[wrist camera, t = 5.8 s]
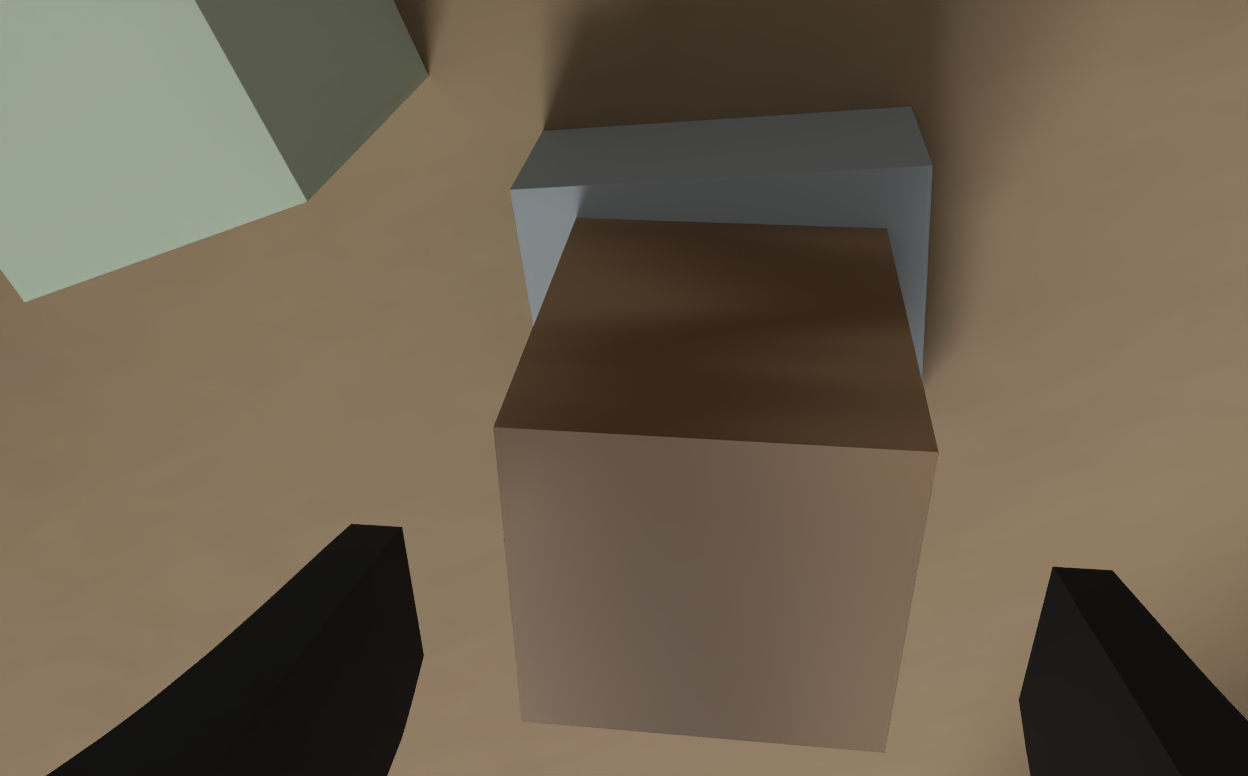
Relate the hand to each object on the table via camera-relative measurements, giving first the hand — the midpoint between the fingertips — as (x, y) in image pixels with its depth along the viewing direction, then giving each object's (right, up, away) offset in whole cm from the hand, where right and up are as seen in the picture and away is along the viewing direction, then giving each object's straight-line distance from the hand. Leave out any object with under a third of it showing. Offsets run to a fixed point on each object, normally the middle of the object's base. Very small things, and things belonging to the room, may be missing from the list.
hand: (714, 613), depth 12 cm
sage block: (-7, +9, +5) cm, 13 cm away
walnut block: (+1, +3, +5) cm, 6 cm away
